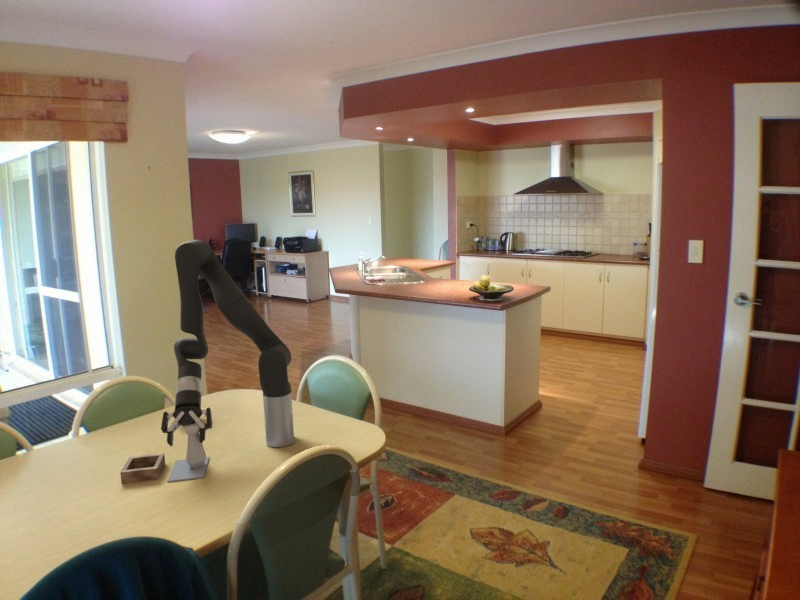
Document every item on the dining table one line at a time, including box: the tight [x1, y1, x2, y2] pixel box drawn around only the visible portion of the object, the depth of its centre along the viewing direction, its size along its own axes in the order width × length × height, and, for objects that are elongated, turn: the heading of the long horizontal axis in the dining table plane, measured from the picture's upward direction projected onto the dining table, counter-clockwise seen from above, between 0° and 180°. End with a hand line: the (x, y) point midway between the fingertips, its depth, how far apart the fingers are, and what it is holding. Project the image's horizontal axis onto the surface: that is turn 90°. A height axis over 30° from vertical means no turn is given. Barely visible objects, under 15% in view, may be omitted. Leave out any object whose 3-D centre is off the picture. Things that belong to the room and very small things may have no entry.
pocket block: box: [119, 452, 166, 484], centre depth 163 cm, size 10×10×4 cm
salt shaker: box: [184, 423, 207, 468], centre depth 166 cm, size 6×6×13 cm
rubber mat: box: [167, 456, 210, 483], centre depth 165 cm, size 10×13×1 cm
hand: (186, 443), depth 163 cm, fingers open, 8 cm apart
